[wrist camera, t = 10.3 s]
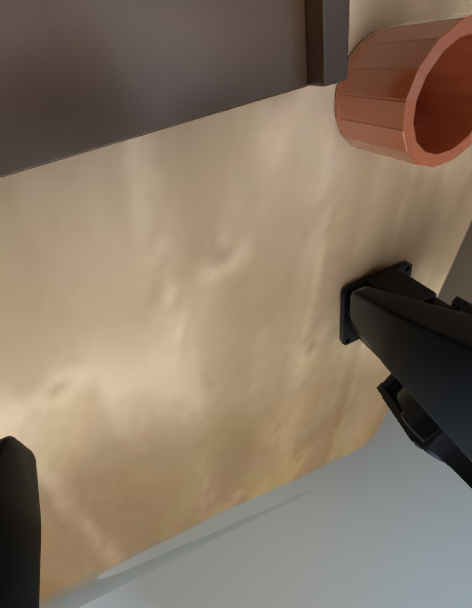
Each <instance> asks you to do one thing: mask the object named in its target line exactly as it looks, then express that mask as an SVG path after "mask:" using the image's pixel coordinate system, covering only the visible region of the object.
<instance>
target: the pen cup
mask: <svg viewBox="0 0 472 608" xmlns="http://www.w3.org/2000/svg"><path fill="white" fill-rule="evenodd" d="M335 115H336V121H337V125H338V128H339V130H340V132H341V134H342V135H343V137H344V138H345V139H346V141H347V142H349V143H350V144H351V145H353V146H356V147H358V148H360V149H364V150H367V151H371V152H374V153H378V154H382V155H385V156H389V157H392V158H396V159H399V160H403V161H406V162H410V163H413V164H417V165H422V166H428V167H435V166H438V165H441V164H443V163H446V162H449V161H451V160H452V159H454V158H455V157H456V156H458V155H459V154H460V153H461V152H463V151H464V150H465V149H466V148H468V147H469V146H470V145H471V144H472V13H471V14H464V15H457V16H450V17H443V18H436V19H430V20H423V21H416V22H409V23H402V24H397V25H394V26H388V27H383V28H380V29H378V30H376V31H374V32H372V33H371V34H370V35H368V36H367V37H366V38H365V39H364V40H363V41H362V42H360V43H359V45H358V46H357V47H356V48H355V49H354V51H353V52H352V54H351V55H350V57H349V58H348V74H347V79H346V80H345V81H341V82H338V86H337V91H336V97H335Z"/></svg>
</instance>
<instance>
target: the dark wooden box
mask: <svg viewBox="0 0 472 608" xmlns="http://www.w3.org/2000/svg"><path fill="white" fill-rule="evenodd" d="M348 32H349V0H0V177H4V176H7V175H10V174H14V173H17V172H21V171H24V170H27V169H31V168H34V167H37V166H41V165H44V164H47V163H51V162H54V161H58V160H61V159H64V158H68V157H71V156H74V155H78V154H81V153H84V152H88V151H91V150H95V149H98V148H101V147H105V146H108V145H111V144H115V143H118V142H121V141H125V140H128V139H132V138H135V137H138V136H142V135H145V134H148V133H152V132H155V131H158V130H162V129H165V128H168V127H172V126H175V125H179V124H182V123H185V122H189V121H192V120H195V119H199V118H202V117H205V116H209V115H212V114H216V113H219V112H222V111H226V110H229V109H232V108H236V107H239V106H242V105H246V104H249V103H253V102H256V101H259V100H263V99H266V98H269V97H273V96H276V95H279V94H283V93H286V92H290V91H293V90H296V89H300V88H303V87H306V86H308V85H310V86H328V85H331V84H335V83H338V82H341V81H345V80H346V79H347V74H348Z"/></svg>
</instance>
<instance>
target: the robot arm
mask: <svg viewBox="0 0 472 608" xmlns="http://www.w3.org/2000/svg"><path fill="white" fill-rule="evenodd" d="M411 270H412V264H411V263H409V262H407V261H405V262H403V263H400V264H398V265H395V266H393V267H391V268H388V269H386V270H384V271H381V272H379V273H377V274H374V275H372V276H369V277H367V278H365V279H362V280H360V281H358V282H355V283H353V284H351V285H348V286H346V287H345V288H344V289H343V290H342V293H341V335H340V340H341V342H342V343H343V344H344V345H347V344H349V343H352V342H354V341H356V340H358V339H360V340H361V341H362V342H363V343H364V344H365V345H366V346H367V347H368V348H369V349H370V350H371V351H372V352H373V353H374V354H376V355H377V356H378V357H379V359H380V360H381V361H382V363H383V364H384V365H385V366H386V367H387V369H388V370H389V371H390V372H391V374H390V375H389V376H388V377H387V379H386V380H385V381H384V382H383V383H380V385H379V386H378V387H377V389H378V391H379V392H380V394H381V395H382V398H383V399H384V401H385V402H386V404H387V405H388V407H389V408H390V409H391V411H392V413H393V414H394V416H395V417H396V419H397V420H398V422H399V423H400V425H401V426H402V428H403V429H404V431H405V432H406V434H407V435H408V437H409V438H410V439H411V441H413V442H414V444H415V445H416V446H417V447H418V448H420V449H423V450H424V451H426V452H427V453H428V454H430V455H431V456H433V457H434V458H436V459H438V460H440V461H443V462H445V463H446V464H447V465H448V466H450V467H451V468H452V469H453V470H454V471H455V472H456V473H457V474H458V475H459V476H460V477H461V478H462V479H463V480H464V481H465V482H466V483H467V484H468V485H469V486H470V487H471V488H472V304H471V303H469V302H467V301H465V300H463V299H461V298H459V297H458V296H456V298H455V299H454V300H453V301H452V304H451V306H449V305H448V304H446V303H445V302H443V301H442V300H440V299H439V298H437V297H436V293H435V292H433V291H432V290H430V289H429V288H427V287H426V286H424V285H422V284H421V283H419V282H418V281H416V280H414V279H413V278H411V277H410V276H411ZM40 555H41V514H40V503H39V491H38V479H37V468H36V459H35V456H34V454H33V452H32V451H31V450H30V449H28V448H27V447H26V446H25V445H23V444H22V443H21V442H20V441H18V440H17V439H16V438H14V437H12V436H7V437H5V438H2V439H0V608H39V589H40Z"/></svg>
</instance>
